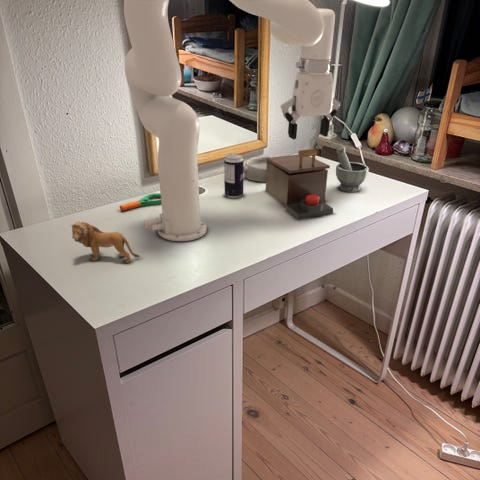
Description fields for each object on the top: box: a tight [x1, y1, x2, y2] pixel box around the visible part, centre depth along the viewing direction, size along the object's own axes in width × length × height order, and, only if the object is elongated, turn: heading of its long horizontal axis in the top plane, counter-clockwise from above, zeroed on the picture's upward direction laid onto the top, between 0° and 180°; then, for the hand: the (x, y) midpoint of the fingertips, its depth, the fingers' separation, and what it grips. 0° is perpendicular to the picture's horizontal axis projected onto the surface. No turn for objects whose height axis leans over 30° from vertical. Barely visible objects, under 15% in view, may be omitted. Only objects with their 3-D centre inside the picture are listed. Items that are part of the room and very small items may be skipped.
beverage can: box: [223, 152, 245, 199], centre depth 144 cm, size 6×6×12 cm
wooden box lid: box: [267, 148, 331, 174], centre depth 141 cm, size 15×13×5 cm
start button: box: [306, 195, 319, 205], centre depth 134 cm, size 4×4×2 cm
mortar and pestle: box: [335, 146, 370, 193], centre depth 150 cm, size 11×9×12 cm
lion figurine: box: [70, 221, 140, 264], centre depth 112 cm, size 15×5×9 cm, turn 90°
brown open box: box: [265, 161, 329, 208], centre depth 145 cm, size 15×13×9 cm
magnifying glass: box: [119, 192, 162, 212], centre depth 141 cm, size 15×6×2 cm, turn 133°
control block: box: [286, 198, 334, 221], centre depth 136 cm, size 11×8×4 cm
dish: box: [244, 155, 273, 183], centre depth 161 cm, size 14×14×5 cm
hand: (308, 136), depth 132 cm, fingers open, 9 cm apart
